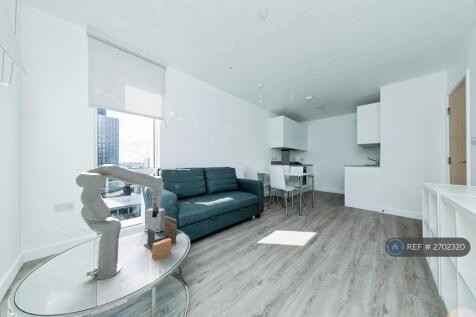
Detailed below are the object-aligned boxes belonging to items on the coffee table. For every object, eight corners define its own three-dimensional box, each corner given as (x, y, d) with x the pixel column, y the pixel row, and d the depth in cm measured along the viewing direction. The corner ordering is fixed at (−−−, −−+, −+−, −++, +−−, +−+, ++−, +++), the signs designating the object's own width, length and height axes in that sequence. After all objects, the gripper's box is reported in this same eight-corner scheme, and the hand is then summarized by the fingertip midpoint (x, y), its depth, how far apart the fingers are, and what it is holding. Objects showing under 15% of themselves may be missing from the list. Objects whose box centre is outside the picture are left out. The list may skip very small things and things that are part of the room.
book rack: (154, 252, 127) (155, 226, 127) (143, 245, 137) (144, 220, 137) (176, 244, 141) (177, 220, 142) (165, 238, 151) (166, 215, 152)
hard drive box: (164, 229, 169) (165, 208, 169) (160, 233, 161) (161, 211, 162) (149, 228, 171) (150, 208, 171) (144, 231, 163) (145, 210, 163)
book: (154, 260, 117) (155, 245, 118) (151, 258, 120) (152, 243, 120) (171, 253, 127) (171, 239, 127) (168, 251, 129) (168, 237, 130)
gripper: (160, 194, 128) (159, 218, 127) (162, 190, 144) (161, 212, 144) (149, 195, 126) (148, 219, 125) (152, 191, 142) (151, 212, 142)
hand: (155, 215), depth 134 cm, fingers open, 9 cm apart
